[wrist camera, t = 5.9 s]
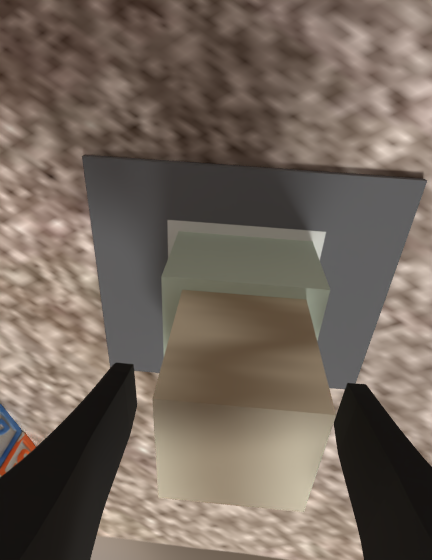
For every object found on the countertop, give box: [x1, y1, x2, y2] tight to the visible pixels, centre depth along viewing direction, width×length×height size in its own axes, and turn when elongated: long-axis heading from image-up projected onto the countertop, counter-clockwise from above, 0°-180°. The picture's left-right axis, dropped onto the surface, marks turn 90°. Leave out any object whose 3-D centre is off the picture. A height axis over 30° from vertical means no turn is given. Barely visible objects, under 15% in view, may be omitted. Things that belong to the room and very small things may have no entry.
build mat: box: [82, 155, 427, 389], centre depth 18 cm, size 14×12×1 cm
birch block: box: [153, 290, 336, 512], centre depth 12 cm, size 4×4×5 cm
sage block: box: [161, 231, 330, 355], centre depth 16 cm, size 6×6×4 cm
